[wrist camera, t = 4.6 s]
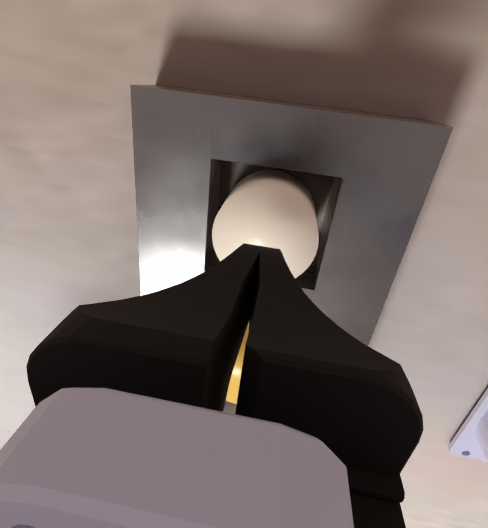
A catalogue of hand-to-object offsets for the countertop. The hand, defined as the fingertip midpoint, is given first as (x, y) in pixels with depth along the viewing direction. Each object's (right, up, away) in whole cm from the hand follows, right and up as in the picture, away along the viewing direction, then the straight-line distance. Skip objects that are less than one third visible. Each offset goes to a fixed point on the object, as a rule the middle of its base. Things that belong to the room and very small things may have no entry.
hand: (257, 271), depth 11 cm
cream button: (+1, +3, +5) cm, 6 cm away
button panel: (0, -3, +9) cm, 9 cm away
